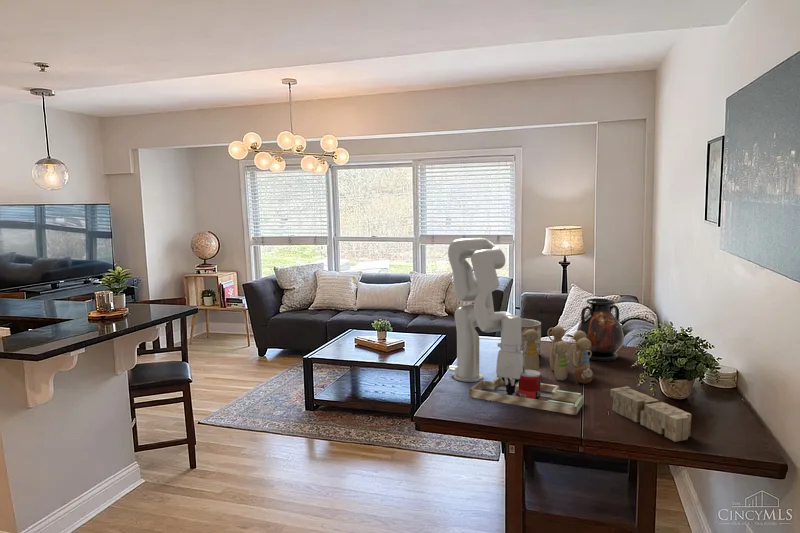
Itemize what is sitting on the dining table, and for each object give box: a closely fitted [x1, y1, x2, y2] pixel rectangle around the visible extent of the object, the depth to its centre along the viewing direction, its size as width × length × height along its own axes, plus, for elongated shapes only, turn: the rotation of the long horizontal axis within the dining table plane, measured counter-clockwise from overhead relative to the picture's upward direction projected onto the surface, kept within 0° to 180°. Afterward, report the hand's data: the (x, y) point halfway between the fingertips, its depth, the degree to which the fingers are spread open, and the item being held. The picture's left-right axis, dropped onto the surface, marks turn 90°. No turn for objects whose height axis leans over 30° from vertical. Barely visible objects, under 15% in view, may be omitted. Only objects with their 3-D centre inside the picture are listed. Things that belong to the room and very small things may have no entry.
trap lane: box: [468, 377, 585, 416], centre depth 205 cm, size 40×20×4 cm, turn 60°
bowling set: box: [523, 325, 594, 385], centre depth 230 cm, size 38×26×20 cm
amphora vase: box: [576, 297, 625, 362], centre depth 258 cm, size 22×22×28 cm
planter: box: [521, 318, 542, 356], centre depth 265 cm, size 19×19×16 cm
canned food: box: [518, 370, 542, 400], centre depth 201 cm, size 8×8×11 cm
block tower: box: [610, 386, 692, 443], centre depth 179 cm, size 8×8×29 cm
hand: (510, 394), depth 205 cm, fingers closed
